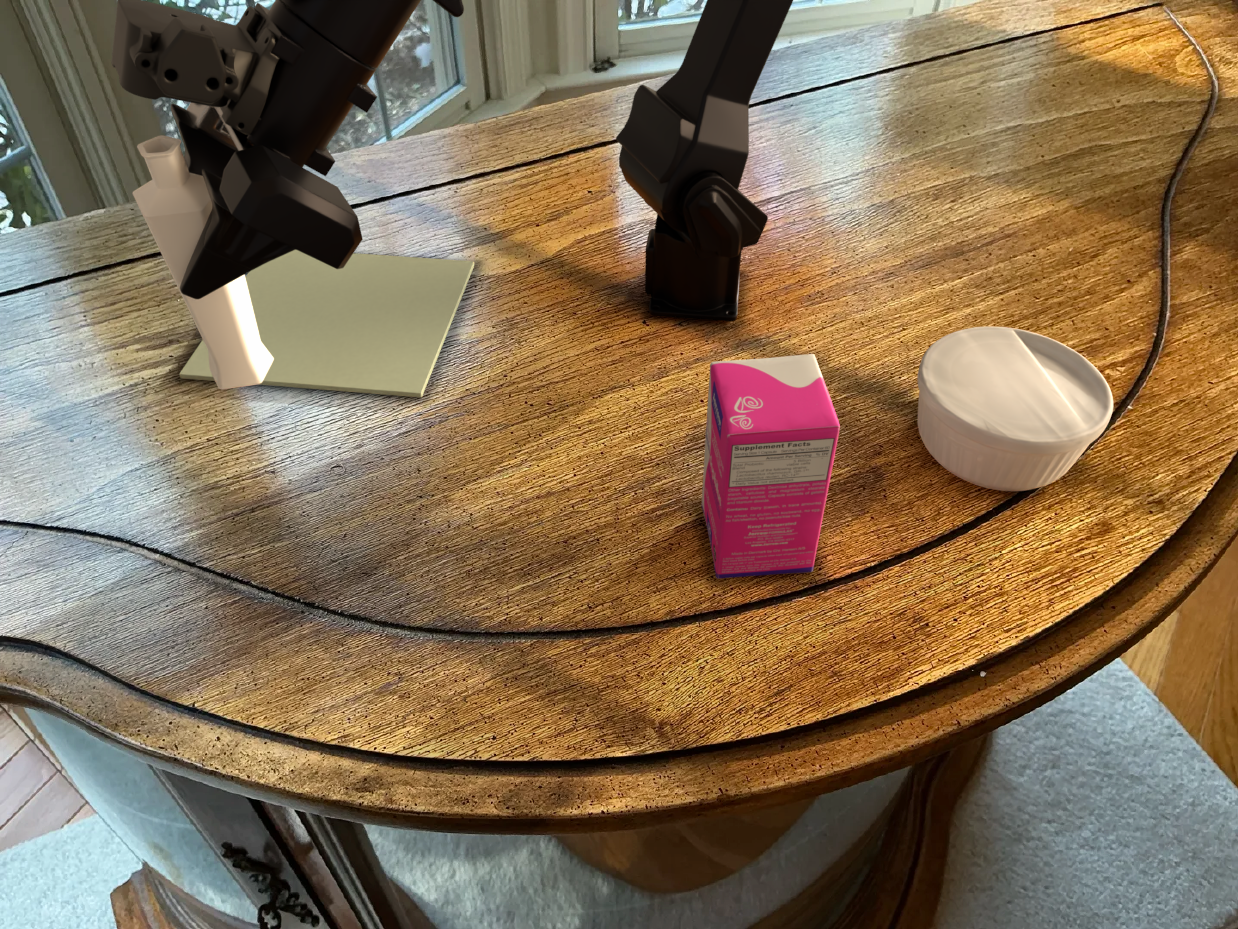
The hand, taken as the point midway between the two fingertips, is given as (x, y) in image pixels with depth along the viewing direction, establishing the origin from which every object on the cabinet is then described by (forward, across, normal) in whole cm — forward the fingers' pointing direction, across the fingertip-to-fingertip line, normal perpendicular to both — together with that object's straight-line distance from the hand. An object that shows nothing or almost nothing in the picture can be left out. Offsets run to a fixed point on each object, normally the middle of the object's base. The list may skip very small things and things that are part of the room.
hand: (179, 272), depth 55 cm
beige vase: (+4, 0, +6) cm, 8 cm away
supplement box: (-8, +24, +26) cm, 36 cm away
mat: (+2, -9, +15) cm, 18 cm away
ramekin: (-21, +24, +39) cm, 50 cm away
